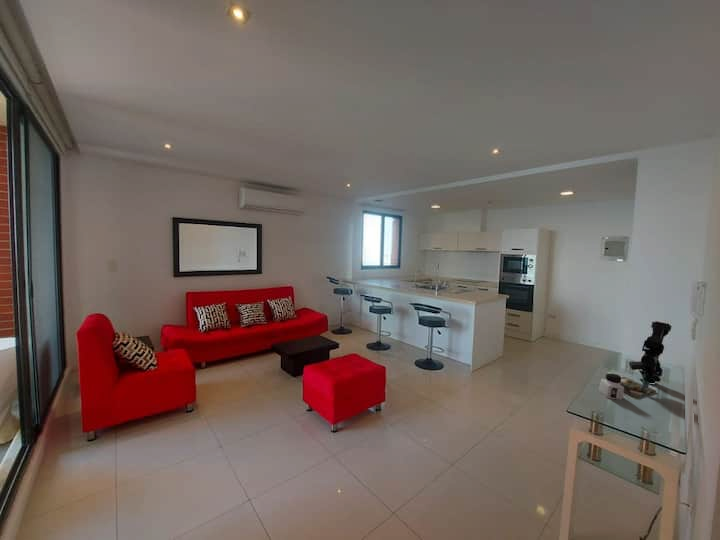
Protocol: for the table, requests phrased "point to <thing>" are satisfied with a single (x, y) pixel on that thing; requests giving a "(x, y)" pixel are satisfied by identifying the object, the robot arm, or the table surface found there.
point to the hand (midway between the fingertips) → (644, 384)
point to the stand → (635, 390)
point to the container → (612, 386)
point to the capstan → (633, 385)
